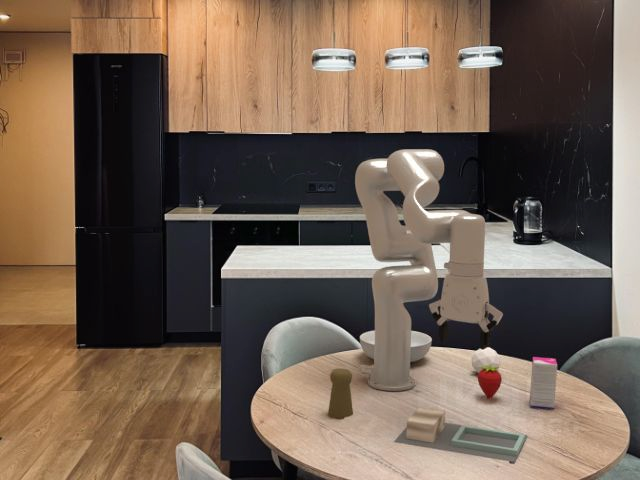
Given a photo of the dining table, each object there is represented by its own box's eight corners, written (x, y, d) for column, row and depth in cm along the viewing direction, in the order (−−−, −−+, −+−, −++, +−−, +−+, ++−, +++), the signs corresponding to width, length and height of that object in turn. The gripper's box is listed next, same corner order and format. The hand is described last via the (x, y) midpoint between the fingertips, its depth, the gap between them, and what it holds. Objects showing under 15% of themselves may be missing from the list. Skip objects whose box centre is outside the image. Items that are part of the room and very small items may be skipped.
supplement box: (555, 410, 207) (557, 364, 205) (530, 408, 208) (532, 362, 207) (553, 402, 213) (555, 357, 211) (529, 400, 214) (531, 356, 212)
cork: (356, 412, 204) (357, 367, 202) (348, 420, 198) (349, 374, 197) (332, 408, 206) (333, 364, 204) (324, 417, 200) (325, 372, 199)
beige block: (433, 442, 184) (433, 425, 184) (406, 438, 187) (406, 420, 186) (444, 427, 194) (445, 410, 193) (419, 423, 196) (419, 406, 195)
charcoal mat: (393, 443, 185) (393, 441, 185) (414, 419, 199) (414, 417, 199) (514, 463, 175) (514, 461, 175) (526, 436, 190) (527, 435, 189)
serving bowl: (434, 353, 255) (435, 330, 254) (427, 373, 235) (427, 349, 234) (366, 348, 260) (366, 326, 259) (353, 367, 240) (353, 344, 239)
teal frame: (451, 445, 183) (451, 440, 183) (461, 430, 192) (462, 425, 192) (517, 456, 178) (517, 450, 177) (524, 439, 187) (525, 434, 187)
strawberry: (480, 404, 211) (481, 364, 209) (474, 394, 218) (475, 356, 217) (503, 404, 211) (505, 365, 209) (497, 394, 218) (498, 356, 217)
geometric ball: (491, 383, 236) (510, 362, 234) (478, 379, 230) (497, 358, 228) (474, 364, 240) (493, 344, 239) (460, 360, 235) (479, 339, 233)
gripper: (423, 268, 190) (421, 342, 193) (496, 276, 181) (494, 354, 183) (438, 263, 196) (436, 336, 199) (509, 271, 187) (506, 347, 189)
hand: (464, 344), depth 191 cm, fingers open, 9 cm apart
